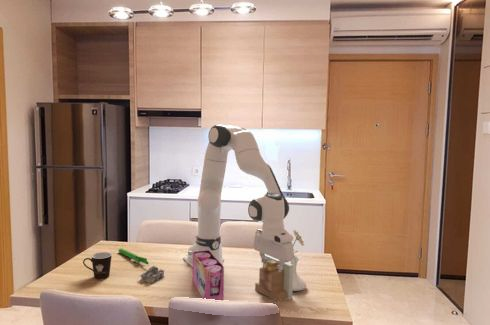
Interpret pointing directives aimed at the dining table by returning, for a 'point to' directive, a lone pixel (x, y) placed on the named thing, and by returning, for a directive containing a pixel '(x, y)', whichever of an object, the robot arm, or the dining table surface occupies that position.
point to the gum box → (208, 275)
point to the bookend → (287, 282)
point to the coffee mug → (100, 264)
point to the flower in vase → (297, 281)
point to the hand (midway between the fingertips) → (271, 266)
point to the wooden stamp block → (271, 277)
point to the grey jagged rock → (149, 273)
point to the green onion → (133, 256)
